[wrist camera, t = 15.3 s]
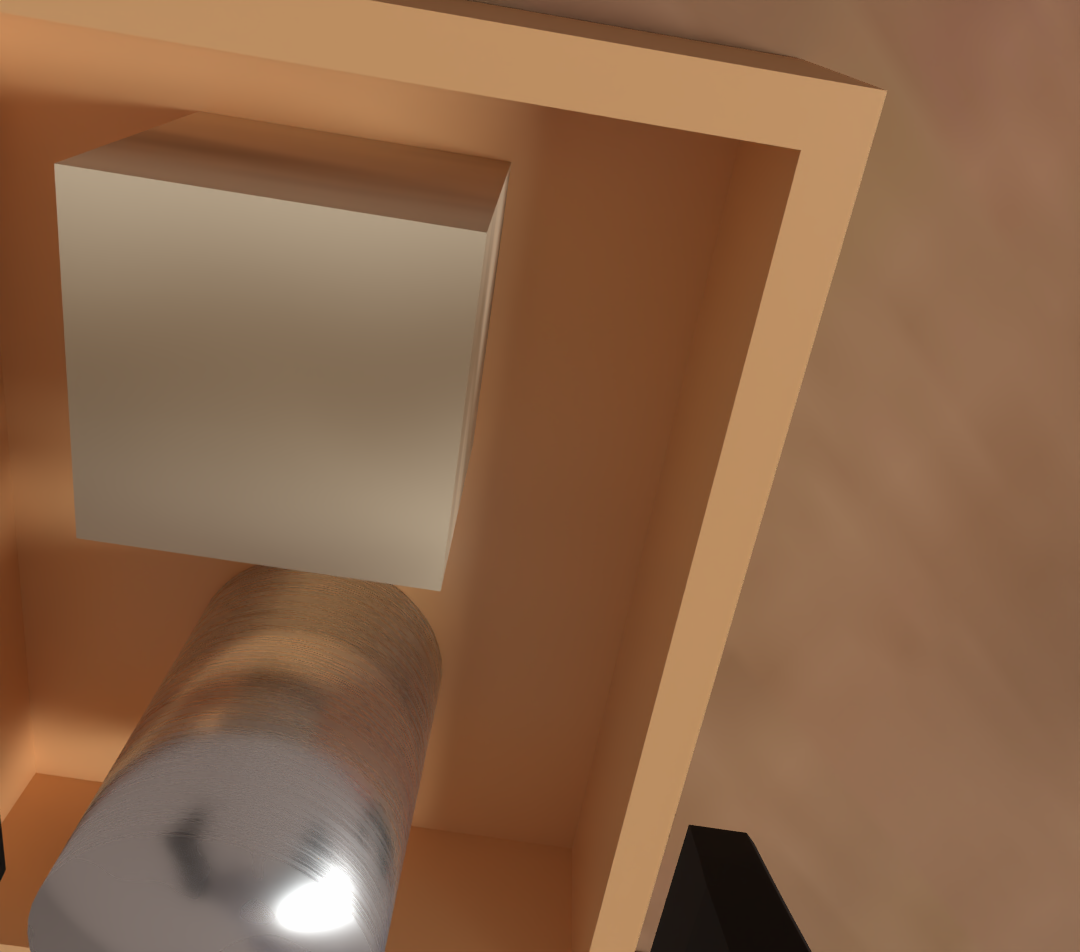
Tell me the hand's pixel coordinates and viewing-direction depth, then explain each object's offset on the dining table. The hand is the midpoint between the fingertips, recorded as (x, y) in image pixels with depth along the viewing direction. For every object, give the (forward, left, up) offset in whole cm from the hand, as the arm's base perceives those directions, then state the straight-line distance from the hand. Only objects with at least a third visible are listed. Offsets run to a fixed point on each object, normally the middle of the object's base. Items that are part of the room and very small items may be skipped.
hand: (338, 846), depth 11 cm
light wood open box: (-1, +2, -10) cm, 10 cm away
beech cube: (+3, +2, -9) cm, 10 cm away
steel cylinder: (-5, +2, -9) cm, 10 cm away
